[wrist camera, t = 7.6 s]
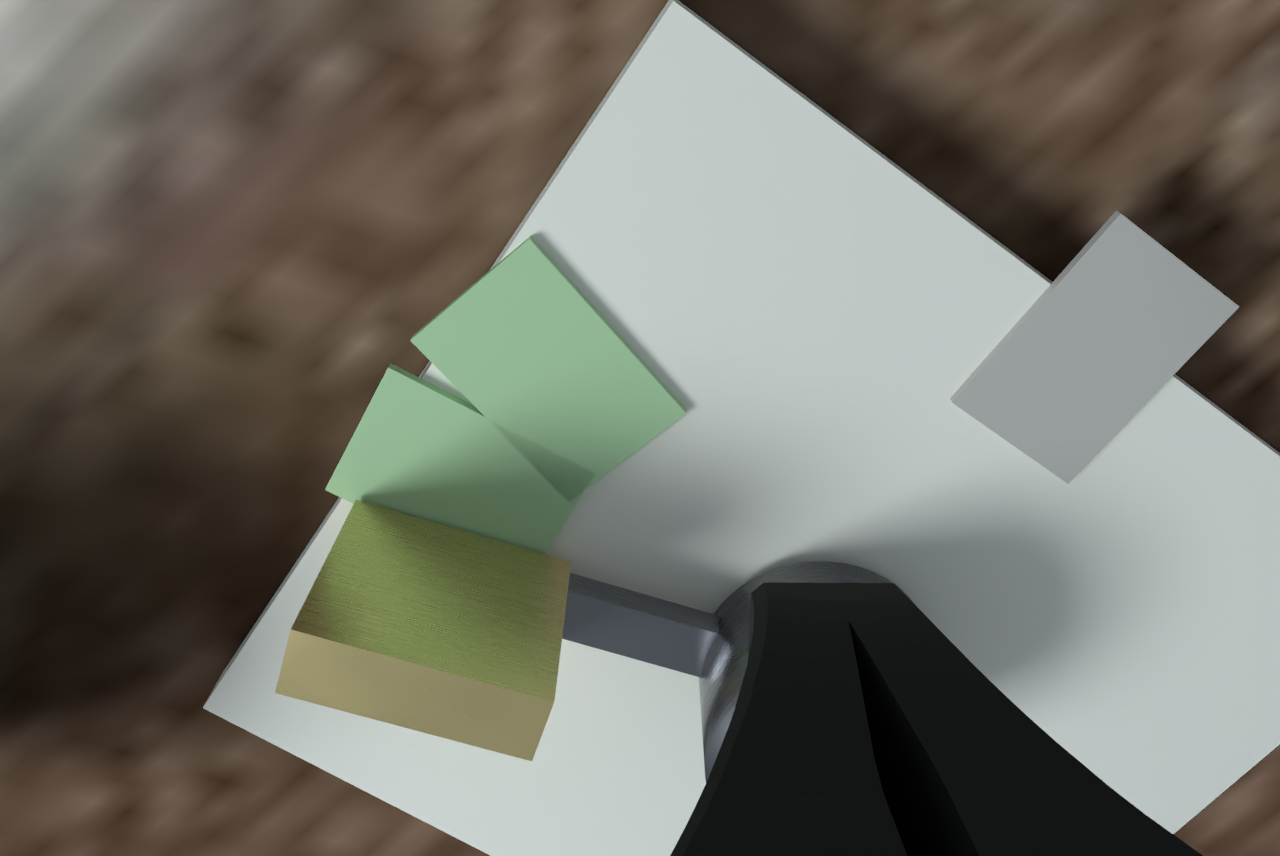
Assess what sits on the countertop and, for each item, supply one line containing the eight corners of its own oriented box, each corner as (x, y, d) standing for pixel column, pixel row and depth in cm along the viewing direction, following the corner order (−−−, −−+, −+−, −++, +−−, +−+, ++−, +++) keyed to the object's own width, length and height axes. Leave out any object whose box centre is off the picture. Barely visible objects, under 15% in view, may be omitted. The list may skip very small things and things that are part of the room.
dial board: (1482, 503, 22) (1535, 540, 20) (890, 1019, 28) (901, 1073, 26) (698, -114, 17) (702, -116, 16) (198, 657, 23) (171, 700, 22)
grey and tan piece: (970, 600, 21) (1038, 745, 17) (874, 776, 22) (917, 942, 19) (375, 421, 19) (313, 539, 16) (322, 625, 21) (255, 772, 17)
